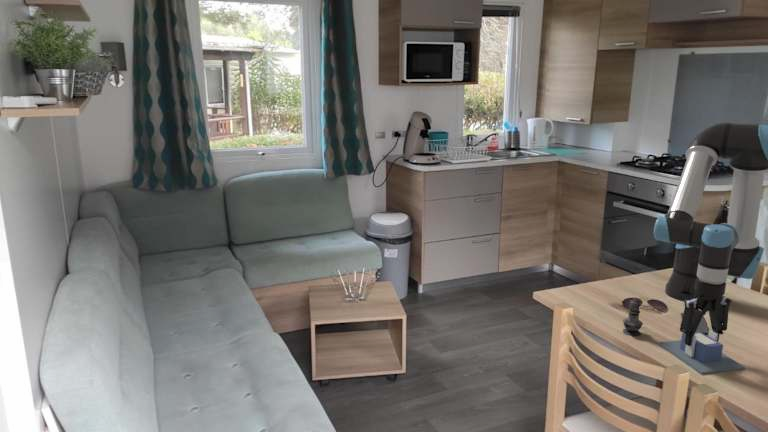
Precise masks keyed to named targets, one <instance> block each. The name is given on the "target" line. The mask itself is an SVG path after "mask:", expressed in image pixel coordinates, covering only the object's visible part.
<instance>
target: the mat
mask: <svg viewBox="0 0 768 432" xmlns="http://www.w3.org/2000/svg"><path fill="white" fill-rule="evenodd" d="M658 345H659V346H660V347H661V348H662V349H664V350H665V351H667V352H669V353H670V354H671V355H673V356H674V357H676V358H677V359H679V360H680V361H681V362H683V363H684V364H686V365H688V367H690V368H692V370H694V371H696V372H697V373H698V374H700V375H707V374H714V373H715V374H716V373H720V372H721V373H722V372H728V371H729V372H731V371H735V370H736V371H737V370H742V369H743V370H745V366H744V365H742V364H741V363H739V362H737V360H734V359H733V358H731V357H729V356H728V355H726V353H723V352H722V356H721V361H715V362H709V363H702V362H700V361H699V360H697V359H696V358H694V357H690V356H689V355H687V354H686V353H685V351H683V350H681V349H680V346H681V339H679V340H670V341H662V342H658Z"/></svg>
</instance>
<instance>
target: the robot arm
mask: <svg viewBox="0 0 768 432" xmlns="http://www.w3.org/2000/svg"><path fill="white" fill-rule="evenodd" d="M684 155H685V159H686V161H685V164H684V167H683V170H682V173H681V174H680V178H679V180H678V183H677V186H676V189H675V191H674V195H673V197H672V201H671V203H670V206H669V209H668V212H667V213H666V216H658V217H657V218H656V220H655V223H654V227H653V237H654V239H655V240H656V241H660V242H665V243H668V244H676V245H675V246H674V247H675V252H674V253H675V254H674V260H673V269H672V273H671V274H670V277H669V279H668V282H667V283H666V284H665V289H664V292H665V294H666V295H667V296H670V297H672V298H673V299H675V300H680V301H683V302H684V309H683V312H682V313H683V318H682V317H681V322H680V327H679V332H681V333H684V334H686V336H685V344H686V347H685V353H686V354H687V355H689V356H690V357H694V350H695V343H696V337H697V336H695V335H694V334H695V332H696V330H697V328H698V326H699V323H700V321H701V319H702V317H704V316H706V313H708V315H709V320H710V327H711V329H710V330H709V329H708V330H709V333H708V335H707V336H709V337H711V338H712V339H714V340H716V341H718V342H719V340H720V335H723V334H724V331H727V330H728V323H729V321H728V320H729V311H730V305H731V302H732V300H731V298H730V297H727V296H725V294H726V287H727V286H726V285H727V283H726V282H727V280H728V276H729V277H735V278H737V279H747V280H751V279H754V277H755V276H756V274H757V271H758V269H759V268H758V267H759V266H760V263H761V261H762V260H761V259H762V257H763V254H764V250H765V247H762V246H761V245H760V244H761V243H760V242H761V241H760V240H759V239H758V238H757V237H756V234H757V227H758V222H759V221H758V220H759V214H760V213H759V212H760V206H761V200H762V194H763V193H762V192H763V187H764V179H765V175H766V174H765V173H766V172H767V171H768V125H767V124H758V123H757V124H756V123H755V124H753V123H736V122H735V123H731V122H720V123H719V122H718V123H715V124H713V125H710V126H709V127H706V128H705V129H703V130H702V131H700V132H699V133H698V134H697V135H695V137H694V138H693V139H692V140H691V141H690V143H689V144H688V146H687V148H686V151H685V154H684ZM718 159H722V160H723V159H724V160H729V166H730V167H731V169H732V170H733V176H732V184H731V190H730V192H731V193H730V198H729V199H730V200H729V208H728V216H727V222H721V223H719V224H717V223H716V224H712V223H707V222H699V221H694V220H695V218H696V214H697V211H698V210H699V209H698V208H699V205H700V203H701V200H702V198H703V193H704V190H705V188H706V184H707V182H708V180H709V179H708V178H709V175H710V172H711V171H712V170H711V169H712V167H713V166H714V165H715V164H716V163H717V162H718ZM690 330H691V331H690Z"/></svg>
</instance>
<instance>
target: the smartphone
mask: <svg viewBox="0 0 768 432" xmlns="http://www.w3.org/2000/svg"><path fill="white" fill-rule="evenodd" d="M683 313H684V312H681V313H680V316H681V319H682V318H683ZM704 317H705V316H703V317H702V319H701V321H700V323H699V326H698V328H697V330H696V331H700V332H702V333H704V334H705V335H707V336H708V333H709V327H708V325H707V321H706V320H705V318H704ZM690 331H691V330H690Z"/></svg>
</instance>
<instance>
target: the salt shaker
mask: <svg viewBox="0 0 768 432" xmlns="http://www.w3.org/2000/svg"><path fill="white" fill-rule="evenodd" d="M640 302H641V301H639V300H638V299H637V297H634V299H631V300H630V301H629V308H628V309H627V312H628V317H627V318H623V320H622V322H623V326H624V328H623V330H622V332H623V334H625V335H627V336H631V337H639V336H641V334H642V333H641V332H640V331H639V330H641V328H642V326H643V325H644V324H643V321H641V320H640V318H639V316H640V313H641V311H640V305H641V303H640Z"/></svg>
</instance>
